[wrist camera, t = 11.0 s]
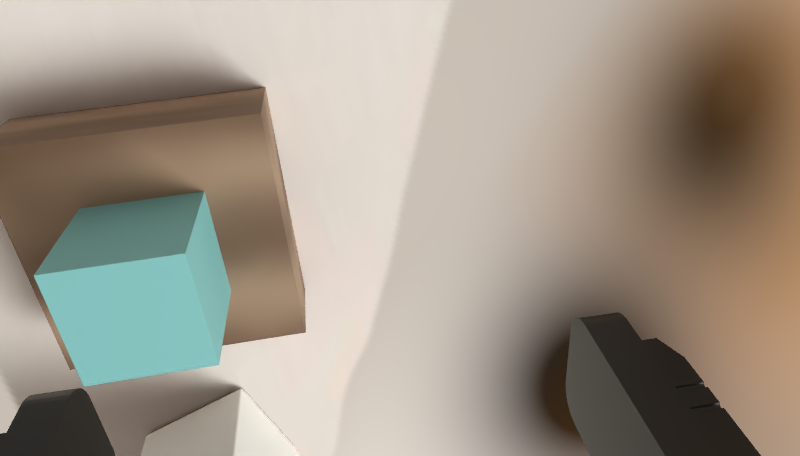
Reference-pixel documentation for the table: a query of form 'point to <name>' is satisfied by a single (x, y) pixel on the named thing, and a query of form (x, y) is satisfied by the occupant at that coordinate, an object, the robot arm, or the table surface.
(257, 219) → the walnut base
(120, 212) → the teal cube
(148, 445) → the milk carton
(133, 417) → the table surface
